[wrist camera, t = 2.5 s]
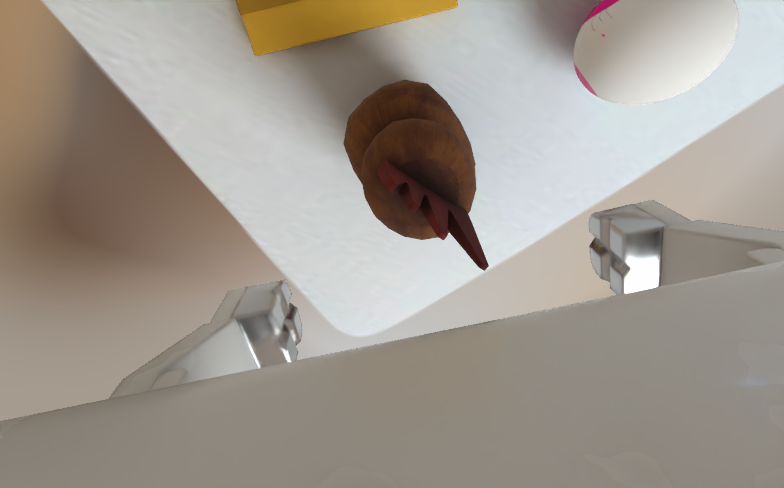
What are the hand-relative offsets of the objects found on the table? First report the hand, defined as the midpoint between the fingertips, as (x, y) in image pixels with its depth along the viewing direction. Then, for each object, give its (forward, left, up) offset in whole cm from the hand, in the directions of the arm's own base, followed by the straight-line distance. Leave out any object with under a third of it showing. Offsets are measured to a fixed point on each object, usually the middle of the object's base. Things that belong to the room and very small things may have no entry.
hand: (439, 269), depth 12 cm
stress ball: (-13, -3, -17) cm, 22 cm away
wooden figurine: (0, 0, -17) cm, 17 cm away
